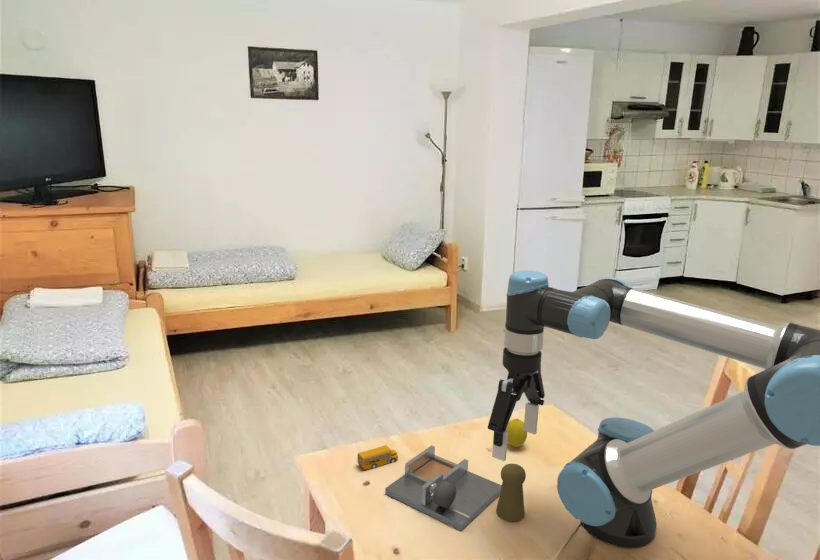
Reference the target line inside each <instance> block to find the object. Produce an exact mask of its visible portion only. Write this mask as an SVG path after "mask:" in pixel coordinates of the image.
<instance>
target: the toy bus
mask: <svg viewBox="0 0 820 560" xmlns="http://www.w3.org/2000/svg"><path fill="white" fill-rule="evenodd" d="M398 460H399V454H398V452H397V451H396V450H394V449H391V448H390V447H389V446H388V445H381V446H379V447H375V448H371V449H368V450H365V451H360V452H358V453H357V464H358V465H359V466H360V468H361V469H363V470H369V469H374V470H375V469H376V468H378V467H381V466H384V465H387V464H394V463H395V462H397V461H398Z"/></svg>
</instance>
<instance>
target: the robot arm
mask: <svg viewBox="0 0 820 560" xmlns="http://www.w3.org/2000/svg"><path fill="white" fill-rule="evenodd" d="M610 322H611V323H614V324H618V325H621V326H625V327H628V328H632V329H635V330H638V331H641V332H644V333H648V334H650V335H653V336H657V337H661V338H664V339H667V340H670V341H673V342H678V343H679V344H682V345H683V344H684V345H686V346H689V347H693V348H696V349H700V350H703V351H705V352H709V353H712V354H716V355H719V356H723V357H725V358H728V359H732V360H736V361H737V362H742V363H745V364H748V365H751V366H754V367H758V368H761V369H764V370H761V371H760V372H758V373H756V374H753V375H751V376H749V377H747V379H746V380H745V383H744V387H743V390H742V391H740V392H739V393H737V394H734V395H732V396H730V397H727V398H725V399H724V400H721V401H719V402H716V403H714V404H712V405H709V406H708V407H706V408H705V407H704V408H703V409H701V410H699V411H696V412H694V413H691V414H690V415H687V416H684V417H682V418H680V419H678V420H676V421H674V422H672V423H670V424H669V423H668V424H667V425H665V426H662V427H660V428H658V429H656V430H655V429H653V428H652V427H650V426H649V425H647V424H646V423H642V422H641V421H637V420H634V419H629V418H624V417H617V416H616V417H607V418H604V419H602V420H601V421H600V423H599V426H598V428H597V432H598V434H597V439H596V440H595V441H593V443H591V444H590V445H589V446H587V447H586V448H585V449H584V450H582V451H581V452H580V453H579V454H578V455H577V456H576V457H574V458H573V459H571V460H570V461H569V462H567V463H566V464H565V465H564V466H563V468H562V469H561V471H559V474H558V476H557V479H556V481H557V485H556V489H557V493H558V497H559V499H560V500H561V503H562V504H563V506H564V508H565V509H566V511H568V512H569V514H570V515H571V516H572V517H574V518H575V519H576V520H580V522H581V524H582V527H584V529H585V530H586V531H587V532H588V533H589V534H591V535H592V536H593V537H594V538H596V539H598V540H600V541H602V542H603V543H606V544H608V545H612V546H615V547H619V548H627V549H629V548H630V549H631V548H633V549H634V548H635V549H636V548H642V547H645V546H647V545H650V543H652V542H653V541H654V539H655V538H656V535H657V528H658V527H657V525H658V524H657V518H656V514H655V509H654V506H653V500H652V494H653V490H655V489H657V488H660V487H663V486H665V485H668V484H671V483H674V482H675V481H678V480H681V479H684V478H686V477H689V476H692V475H695V474H697V473H700V472H704V471H707V470H709V469H712V468H714V467H716V466H719V465H722V464H725V463H728V462H730V461H733V460H735V459H737V458H741V457H744V456H746V455H748V454H752V453H754V452H757V451H759V450H763V449H765V448H767V447H770V446H773V445H778V446H780V447H783V448H785V449H787V450H794V449H795V450H796V449H797V448H800V447H803V446H807V445H809V446H815V447H820V329H818V328H817V329H816V328H812V327H808V326H804V325H800V324H796V323H793V322H789V321H788V322H786V323H784V324H781V325H775V324H772V323H769V322H764V321H761V320H756V319H752V318H748V317H745V316H741V315H739V314H738V315H737V314H733V313H729V312H726V311H722V310H719V309H718V310H717V309H714V308H710V307H707V306H704V305H703V306H702V305H698V304H695V303H691V302H687V301H682V300H679V299H675V298H672V297H668V296H664V295H660V294H656V293H652V292H649V291H645V290H641V289H638V288H634V287H630V286H629V285H628V284H627V283H626V282H625V281H624V280H622V279H620V278H617V277H607V278H606V277H605V278H601V279H598V280H596V281H595V282H593V283H591V284H588V285H586V286H583V287H581V288H579V289H578V288H577V289H576V290H574V291H567V290H562V289H558V288H556V287H555V288H553V287H550V286H549V278H548V276H547V275H546V274H545V273H542V272H540V271H537V270H536V271H535V270H518V271H515V272H513V273H511V274H510V276H509V277H508V283H507V292H506V313H505V325H504V326H505V327H504V329H503V333H504V338H503V339H504V341H503V346H504V347H503V350H502V366H503V368H504V369H506V370H507V372H508V374H507V376H506V377H507V378H506V380H505V379H502V378H500V379H499V381H498V387H497V393H496V395H495V399H494V403H493V407H492V410H491V413H490V416H489V417H490V418H489V420H488V424H487V429H488V430H490V431H493V436H492V437H493V439H492V441H493V442H492V455H491V456H492V458H494V459H498V460H500V461H502V462H505V461H506V460H507V452H508V451H507V450H508V441H507V439H508V430H506V428H507V425H508V423H509V422H510V421H511V420H510V419H511V417H512V415H513V413H514V410H515V406H516V404H517V402H518V401H521V398H522V396H523V394H524V395H525V397H526V399H527V402H526V403H525V409H524V421H523V422H524V431H526V432H527V433H530V434H531V435H536V434H537V432H538V420H539V408H540V406H543V405H544V404H545V400H544V399H545V397H546V394H545V387H544V384H543V378H542V355H543V354H542V350H543V345H544V332H545V331H544V330H545V328H548V329H552V330H556V331H560V332H562V333H566V334H569V335H573V336H575V337H578V338H586V339H591V340H598V339H599V338H601V337H602V336H603V335H604V333H605V332H606V331H607V329H608V327H609V323H610Z"/></svg>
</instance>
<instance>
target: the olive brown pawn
mask: <svg viewBox="0 0 820 560" xmlns="http://www.w3.org/2000/svg"><path fill="white" fill-rule="evenodd" d="M526 477H527V475H526V470H525V469H524V467H523V466H522V465H519V464H518V463H508V464H505V465H504V466H502V469H501V471H500V478H501V480H502V482H501V483H502V484H501V485H502V487H501V491H500V495H499V497H498V501H497V505H496V510H495V513H496V515H497V517H499V518H500V519H501V520H503V521H505V522H510V523H517V522H520V521H522V520H523V519H524V518H525V516H526V515H525V501H524V500H525V499H524V483H525V481H526Z"/></svg>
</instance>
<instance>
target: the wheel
mask: <svg viewBox="0 0 820 560" xmlns="http://www.w3.org/2000/svg"><path fill="white" fill-rule="evenodd" d="M455 496H456V486H455V485H453V484H450V483H448V482H446V481H442V482H440V483H439V485H438V486H437V488H436V490H435V493H434V502H435V504H437V505H439V506H441V507H444V508H449V507H450V506H451V505H452V503H453V501H454V499H455Z"/></svg>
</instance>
